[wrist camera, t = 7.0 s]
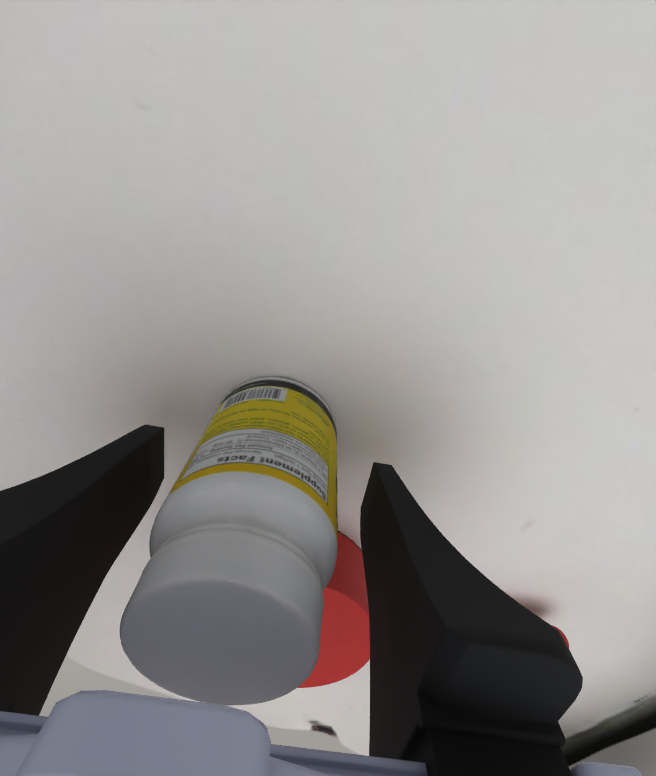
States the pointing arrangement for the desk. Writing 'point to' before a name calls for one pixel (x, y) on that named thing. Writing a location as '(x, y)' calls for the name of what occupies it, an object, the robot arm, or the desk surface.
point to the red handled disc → (345, 620)
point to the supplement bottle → (242, 552)
